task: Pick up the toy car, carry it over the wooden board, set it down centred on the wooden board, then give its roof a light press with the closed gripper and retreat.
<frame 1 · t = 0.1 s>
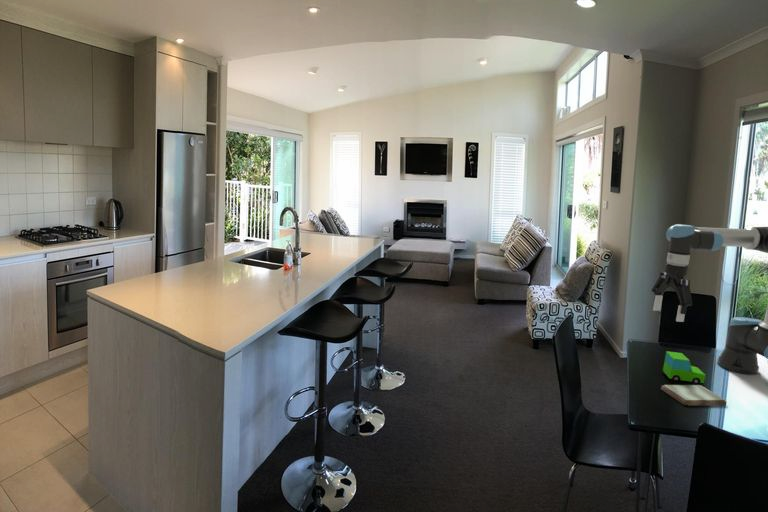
hand: (667, 315, 196), 28 cm above the table, fingers open, 13 cm apart
wooden board: (692, 397, 188), on the table
toy car: (682, 379, 204), on the table
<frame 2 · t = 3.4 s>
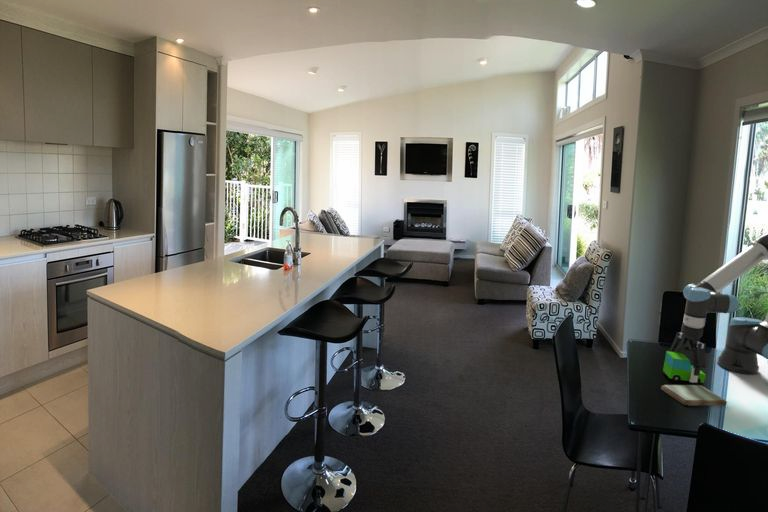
hand: (683, 376, 204), 1 cm above the table, fingers closed on toy car, 10 cm apart
toy car: (682, 379, 204), on the table, touching gripper
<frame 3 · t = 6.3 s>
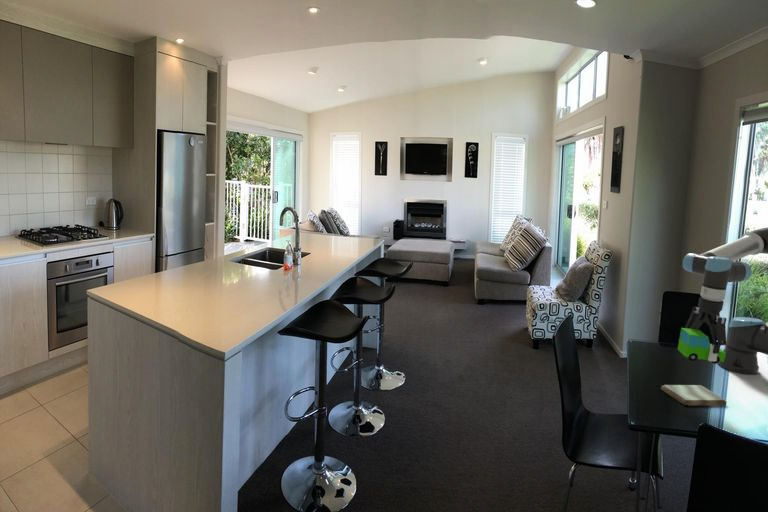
hand: (700, 355, 184), 17 cm above the table, fingers closed on toy car, 10 cm apart
toy car: (700, 359, 185), point 16 cm above the table, touching gripper
when the fingers open (5 cm above the table, at t = 9.4 s): toy car drops 1 cm, resting on wooden board.
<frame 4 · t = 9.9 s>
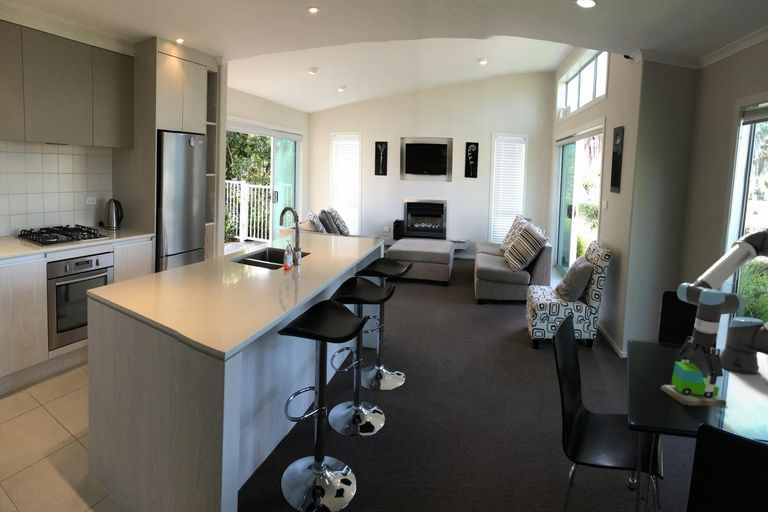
hand: (695, 383, 187), 6 cm above the table, fingers open, 13 cm apart
toy car: (693, 392, 187), point 2 cm above the table, touching wooden board
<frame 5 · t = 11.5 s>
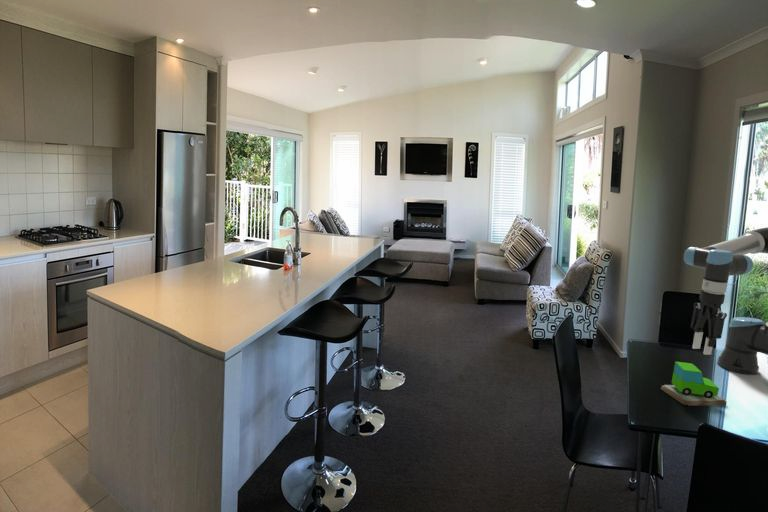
hand: (701, 351, 184), 19 cm above the table, fingers open, 5 cm apart
nothing on the table moved.
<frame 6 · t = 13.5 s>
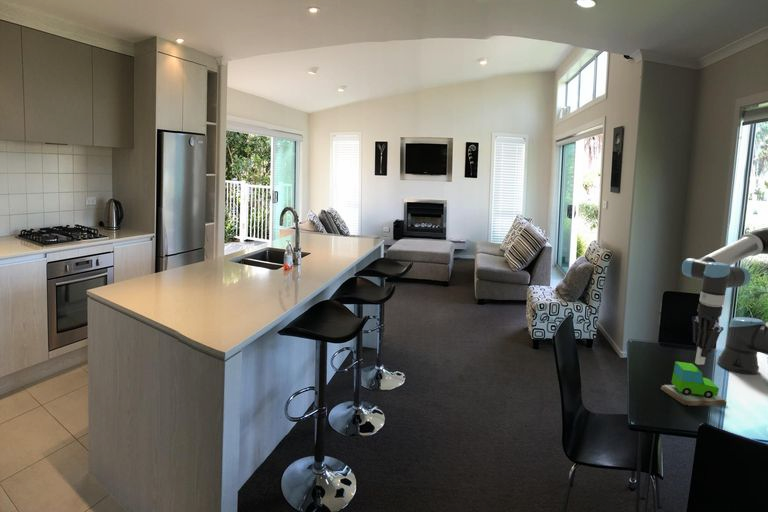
hand: (699, 363, 185), 14 cm above the table, fingers closed
nothing on the table moved.
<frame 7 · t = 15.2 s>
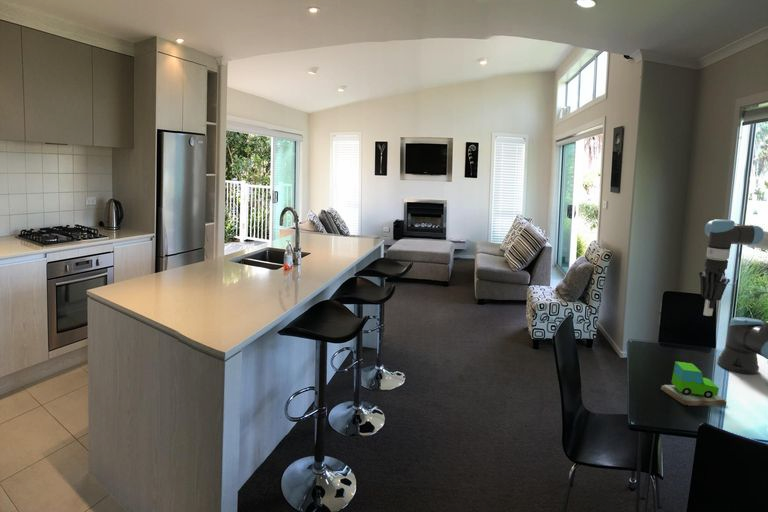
hand: (707, 315, 199), 28 cm above the table, fingers closed
nothing on the table moved.
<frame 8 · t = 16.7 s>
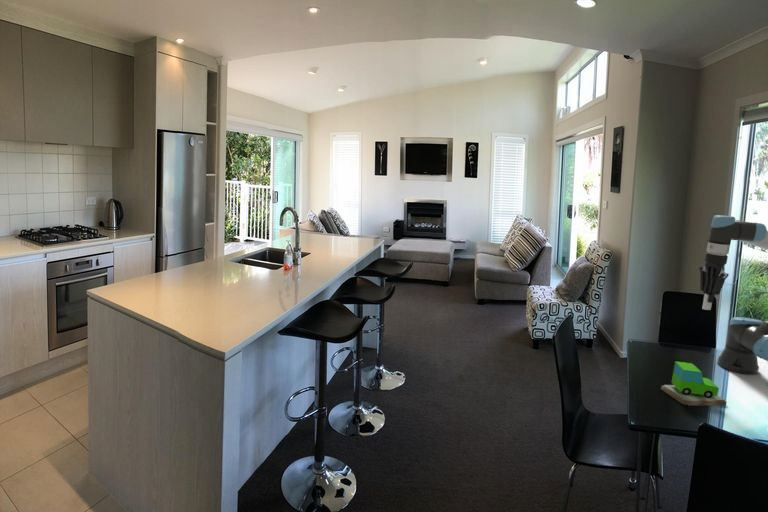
hand: (706, 309, 203), 29 cm above the table, fingers closed
nothing on the table moved.
at the end: toy car inside the target area on the wooden board (0.0 cm from its centre), point 1.8 cm above the wooden board's base; toy car tilted 0°; the gripper is holding nothing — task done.
